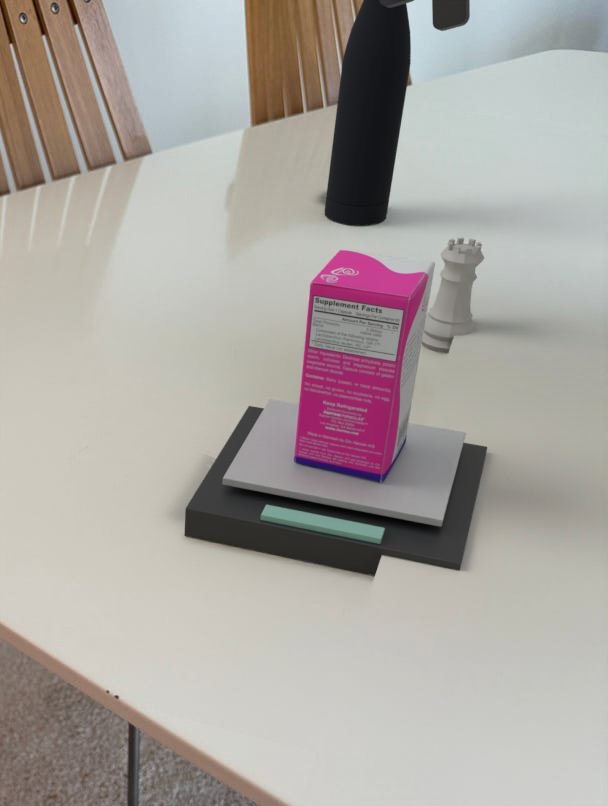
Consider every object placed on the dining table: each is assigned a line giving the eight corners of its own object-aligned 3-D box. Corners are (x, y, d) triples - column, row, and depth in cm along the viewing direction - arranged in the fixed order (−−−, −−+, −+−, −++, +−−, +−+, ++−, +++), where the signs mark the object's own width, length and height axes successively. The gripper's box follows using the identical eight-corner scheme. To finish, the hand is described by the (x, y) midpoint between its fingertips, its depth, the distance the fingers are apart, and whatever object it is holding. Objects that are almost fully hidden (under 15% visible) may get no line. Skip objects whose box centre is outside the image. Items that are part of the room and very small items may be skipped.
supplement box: (317, 422, 68) (340, 244, 60) (407, 442, 66) (443, 260, 59) (287, 463, 64) (309, 277, 56) (382, 485, 62) (417, 296, 54)
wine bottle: (313, 218, 108) (354, -143, 89) (340, 202, 112) (385, -146, 93) (370, 230, 106) (425, -140, 86) (396, 213, 110) (454, -143, 90)
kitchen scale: (480, 473, 69) (491, 432, 67) (453, 592, 59) (464, 549, 57) (246, 431, 73) (249, 391, 71) (184, 536, 63) (185, 493, 61)
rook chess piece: (474, 356, 83) (498, 255, 77) (417, 352, 83) (436, 251, 78) (470, 334, 86) (492, 235, 81) (415, 329, 87) (433, 231, 81)
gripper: (437, -388, 53) (443, -24, 57) (524, -280, 63) (523, 19, 68) (303, -320, 57) (319, 13, 61) (405, -230, 68) (412, 48, 72)
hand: (426, 16), depth 65 cm, fingers open, 8 cm apart
